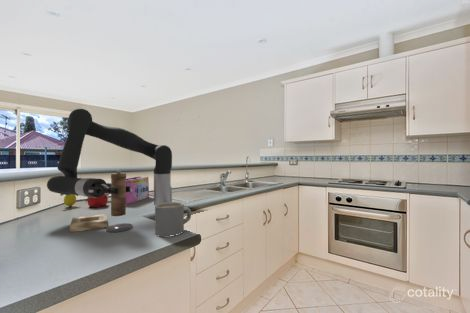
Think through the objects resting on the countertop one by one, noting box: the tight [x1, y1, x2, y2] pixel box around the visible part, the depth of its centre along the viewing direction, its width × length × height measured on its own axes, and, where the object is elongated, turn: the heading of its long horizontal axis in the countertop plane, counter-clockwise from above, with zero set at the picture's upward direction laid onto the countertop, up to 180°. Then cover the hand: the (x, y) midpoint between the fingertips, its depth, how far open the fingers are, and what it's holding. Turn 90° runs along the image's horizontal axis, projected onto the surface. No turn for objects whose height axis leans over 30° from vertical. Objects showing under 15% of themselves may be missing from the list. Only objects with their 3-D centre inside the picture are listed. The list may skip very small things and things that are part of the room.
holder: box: [69, 213, 108, 233], centre depth 95 cm, size 12×12×2 cm
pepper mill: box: [110, 169, 127, 217], centre depth 91 cm, size 5×5×17 cm
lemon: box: [59, 194, 79, 208], centre depth 129 cm, size 7×6×10 cm
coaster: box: [105, 223, 133, 233], centre depth 91 cm, size 9×9×1 cm
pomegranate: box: [86, 195, 109, 208], centre depth 130 cm, size 10×10×9 cm
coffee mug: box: [154, 201, 192, 237], centre depth 87 cm, size 13×10×10 cm
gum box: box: [126, 176, 150, 205], centre depth 147 cm, size 24×8×14 cm, turn 167°
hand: (123, 190), depth 90 cm, fingers closed on pepper mill, 5 cm apart
